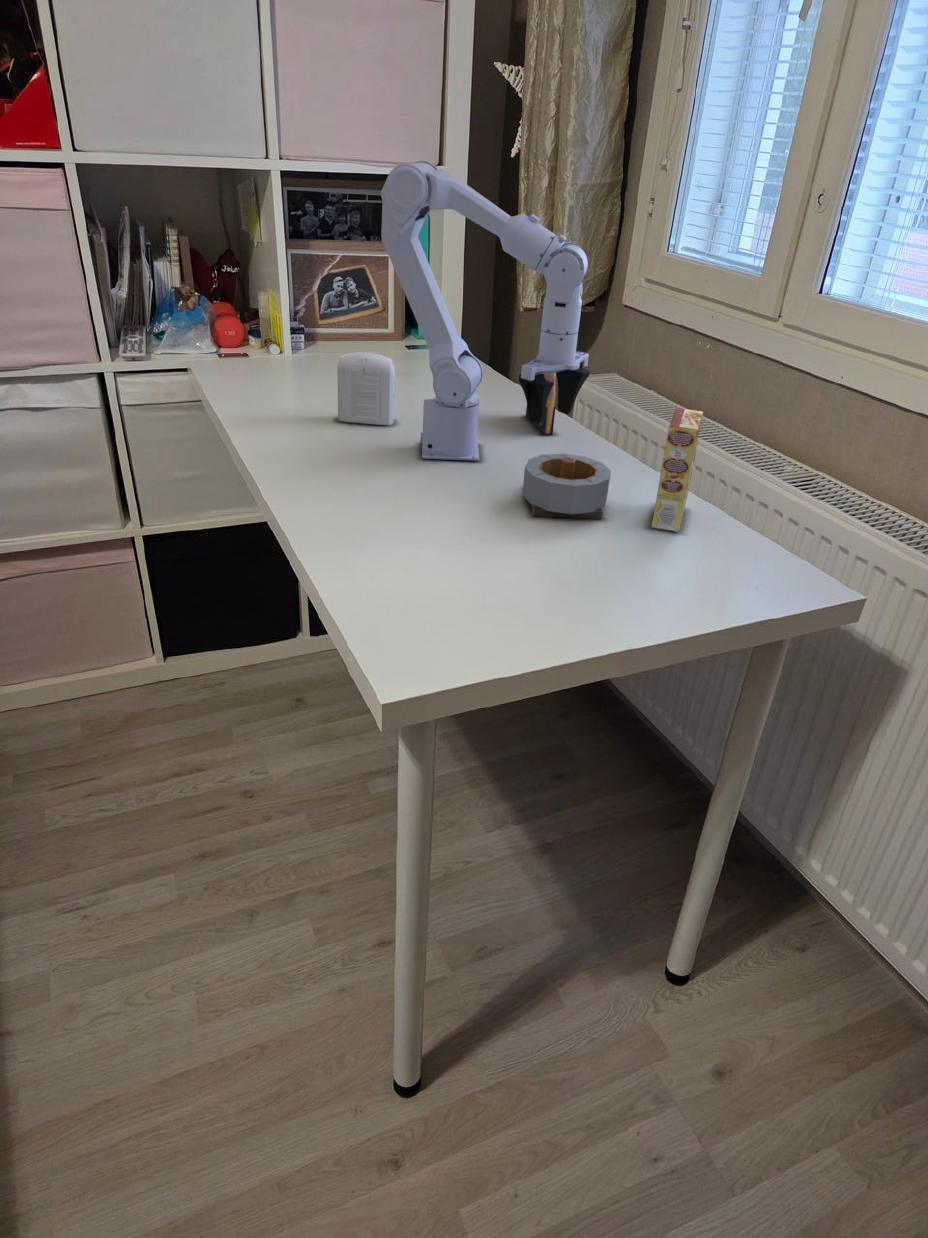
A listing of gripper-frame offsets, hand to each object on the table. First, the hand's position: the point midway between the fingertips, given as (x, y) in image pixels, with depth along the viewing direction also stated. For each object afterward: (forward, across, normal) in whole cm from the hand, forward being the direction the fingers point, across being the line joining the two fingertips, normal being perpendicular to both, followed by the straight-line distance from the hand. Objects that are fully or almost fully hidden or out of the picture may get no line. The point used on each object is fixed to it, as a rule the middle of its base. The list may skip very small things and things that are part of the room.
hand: (550, 416), depth 137 cm
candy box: (+8, -3, -26) cm, 27 cm away
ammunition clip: (+8, +15, +13) cm, 22 cm away
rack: (+8, -11, -12) cm, 18 cm away
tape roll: (+7, -10, -12) cm, 17 cm away
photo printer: (+8, -9, +35) cm, 37 cm away
